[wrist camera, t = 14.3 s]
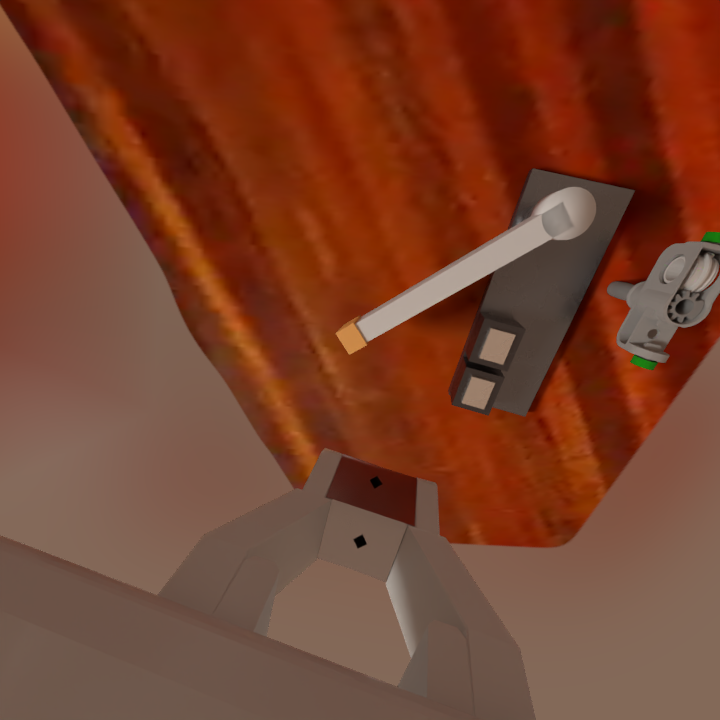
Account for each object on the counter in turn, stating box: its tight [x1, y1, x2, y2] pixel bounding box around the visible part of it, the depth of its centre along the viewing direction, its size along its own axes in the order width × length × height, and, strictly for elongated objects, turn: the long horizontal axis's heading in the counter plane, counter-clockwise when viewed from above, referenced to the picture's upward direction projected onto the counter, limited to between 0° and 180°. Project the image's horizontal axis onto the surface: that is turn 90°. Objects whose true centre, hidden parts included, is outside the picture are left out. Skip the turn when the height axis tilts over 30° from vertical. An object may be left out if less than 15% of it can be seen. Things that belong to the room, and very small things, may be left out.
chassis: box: [448, 169, 635, 416], centre depth 33 cm, size 24×9×6 cm, turn 167°
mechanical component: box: [607, 232, 720, 370], centre depth 29 cm, size 3×10×10 cm, turn 167°
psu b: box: [450, 356, 505, 415], centre depth 36 cm, size 5×4×4 cm
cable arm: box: [336, 187, 596, 355], centre depth 29 cm, size 22×4×3 cm, turn 122°
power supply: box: [465, 312, 526, 372], centre depth 34 cm, size 5×4×4 cm
